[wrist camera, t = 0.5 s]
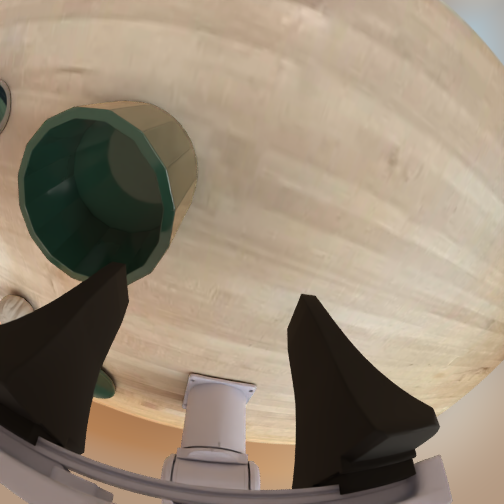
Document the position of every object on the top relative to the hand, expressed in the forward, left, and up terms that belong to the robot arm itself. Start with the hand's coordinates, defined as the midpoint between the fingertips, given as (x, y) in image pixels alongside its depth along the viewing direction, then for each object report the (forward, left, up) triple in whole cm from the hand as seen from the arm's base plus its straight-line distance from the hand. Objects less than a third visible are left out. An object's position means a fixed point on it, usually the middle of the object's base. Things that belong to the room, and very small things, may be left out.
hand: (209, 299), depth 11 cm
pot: (+1, +8, -10) cm, 12 cm away
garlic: (-18, +22, -10) cm, 30 cm away
